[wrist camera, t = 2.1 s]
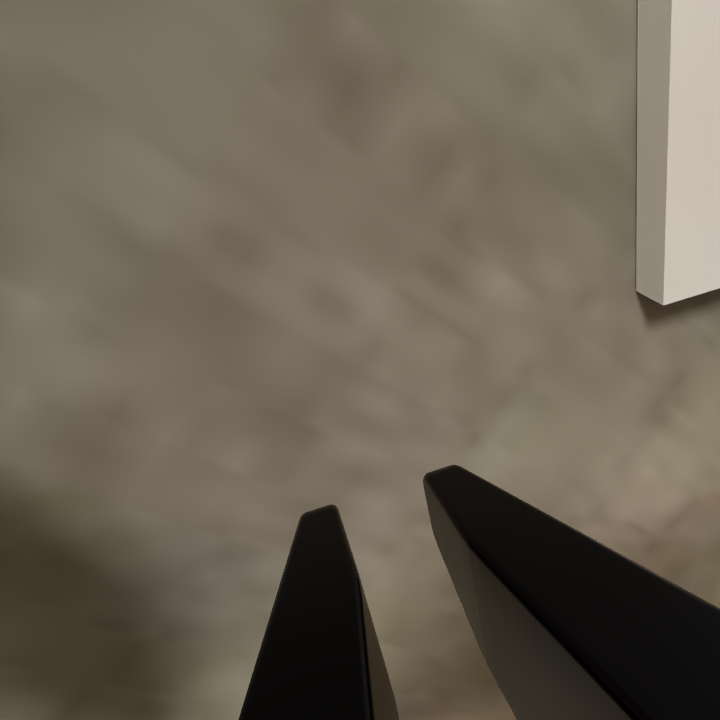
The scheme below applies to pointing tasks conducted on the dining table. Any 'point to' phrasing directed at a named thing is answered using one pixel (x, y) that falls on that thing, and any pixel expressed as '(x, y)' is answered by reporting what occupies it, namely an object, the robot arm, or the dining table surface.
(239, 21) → the dining table surface
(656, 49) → the switch console
